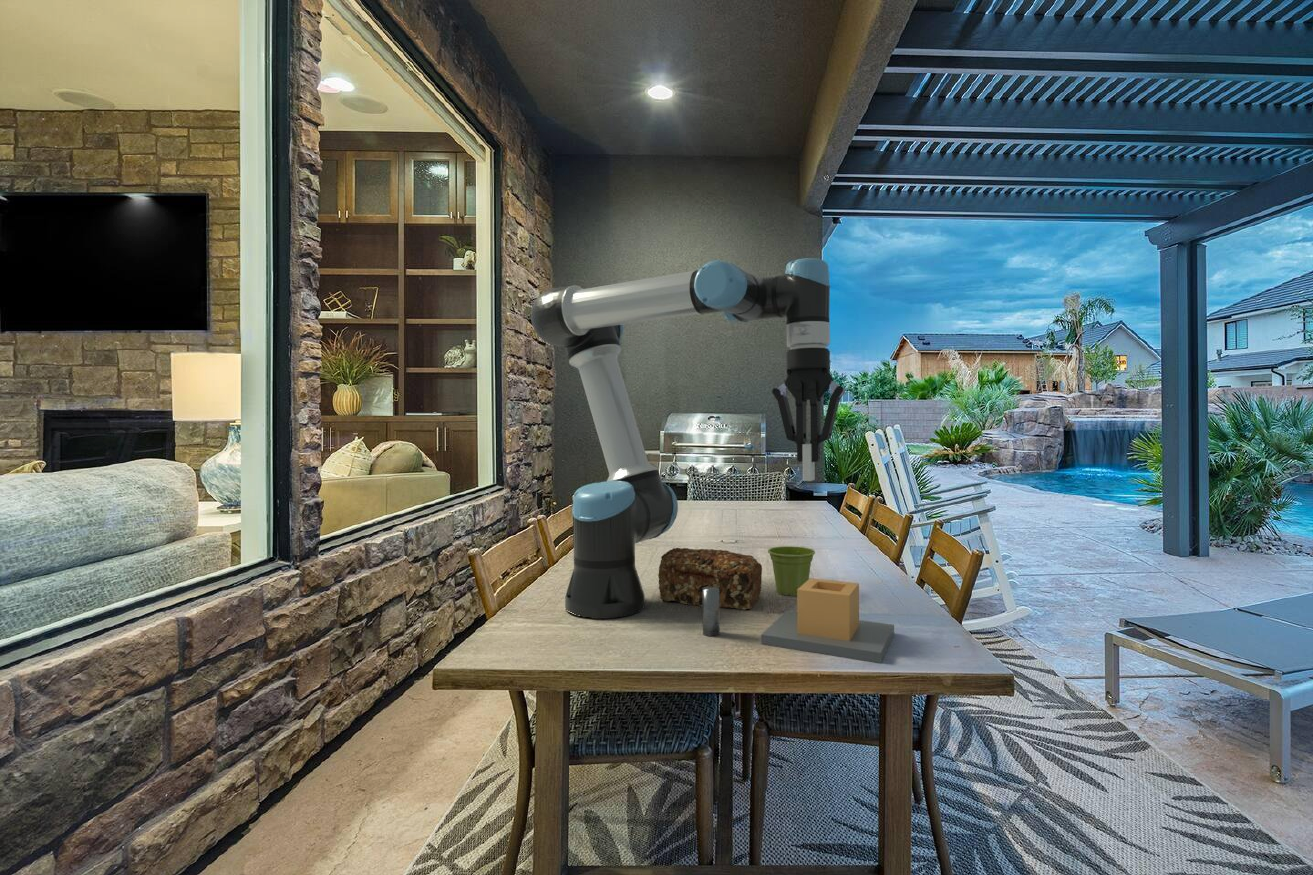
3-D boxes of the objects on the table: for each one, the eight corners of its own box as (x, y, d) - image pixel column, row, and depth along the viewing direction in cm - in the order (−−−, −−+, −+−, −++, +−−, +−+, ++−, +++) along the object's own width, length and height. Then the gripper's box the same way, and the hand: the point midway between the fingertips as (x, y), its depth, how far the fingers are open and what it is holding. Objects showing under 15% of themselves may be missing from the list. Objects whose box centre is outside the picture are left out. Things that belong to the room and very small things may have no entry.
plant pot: (759, 590, 132) (758, 548, 132) (796, 584, 136) (795, 544, 136) (786, 601, 124) (786, 557, 123) (825, 595, 128) (824, 552, 127)
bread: (657, 603, 124) (656, 552, 124) (676, 589, 134) (675, 542, 134) (751, 613, 117) (750, 559, 117) (764, 597, 127) (763, 547, 127)
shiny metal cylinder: (700, 634, 105) (699, 589, 105) (706, 629, 108) (706, 585, 107) (715, 637, 104) (715, 591, 104) (722, 632, 106) (721, 587, 106)
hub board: (761, 643, 101) (761, 596, 100) (786, 618, 113) (786, 576, 113) (880, 663, 92) (880, 611, 92) (894, 633, 105) (894, 587, 104)
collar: (797, 633, 101) (797, 589, 101) (810, 618, 108) (810, 578, 108) (849, 641, 97) (849, 595, 97) (859, 625, 104) (859, 583, 104)
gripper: (766, 348, 113) (767, 480, 114) (840, 344, 107) (841, 483, 108) (778, 352, 120) (779, 477, 121) (849, 348, 114) (850, 479, 115)
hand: (808, 480), depth 114 cm, fingers closed
